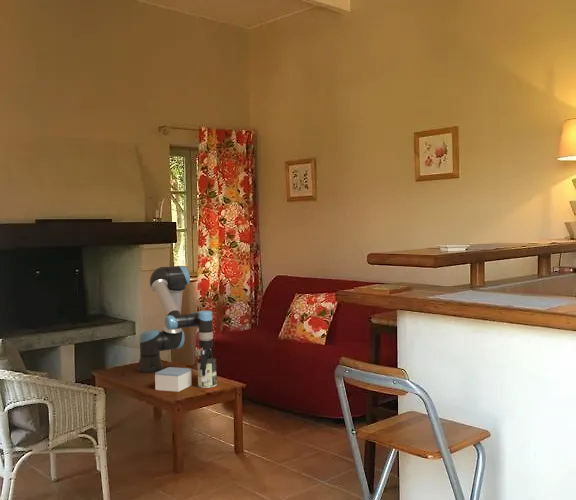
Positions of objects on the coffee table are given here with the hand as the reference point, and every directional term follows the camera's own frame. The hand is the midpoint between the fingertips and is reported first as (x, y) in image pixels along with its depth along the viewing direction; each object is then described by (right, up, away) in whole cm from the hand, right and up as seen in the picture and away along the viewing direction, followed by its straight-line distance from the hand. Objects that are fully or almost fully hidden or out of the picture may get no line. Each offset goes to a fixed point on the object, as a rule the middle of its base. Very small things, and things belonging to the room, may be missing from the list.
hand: (207, 378), depth 352 cm
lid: (-18, +4, -3) cm, 18 cm away
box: (-18, -4, -2) cm, 18 cm away
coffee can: (0, -4, 0) cm, 4 cm away
